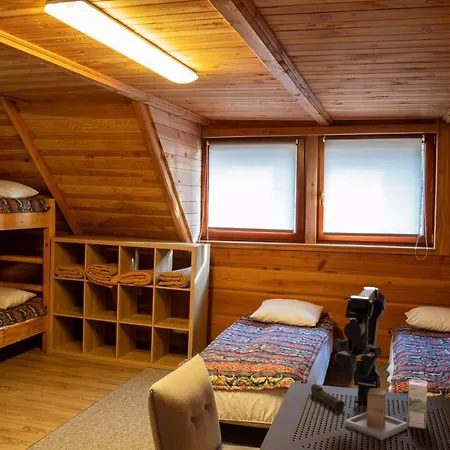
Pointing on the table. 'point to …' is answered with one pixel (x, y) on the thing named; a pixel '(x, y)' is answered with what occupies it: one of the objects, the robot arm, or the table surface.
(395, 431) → the tray
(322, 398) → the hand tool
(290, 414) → the table surface
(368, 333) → the robot arm
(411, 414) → the syrup box
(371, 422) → the walnut block
